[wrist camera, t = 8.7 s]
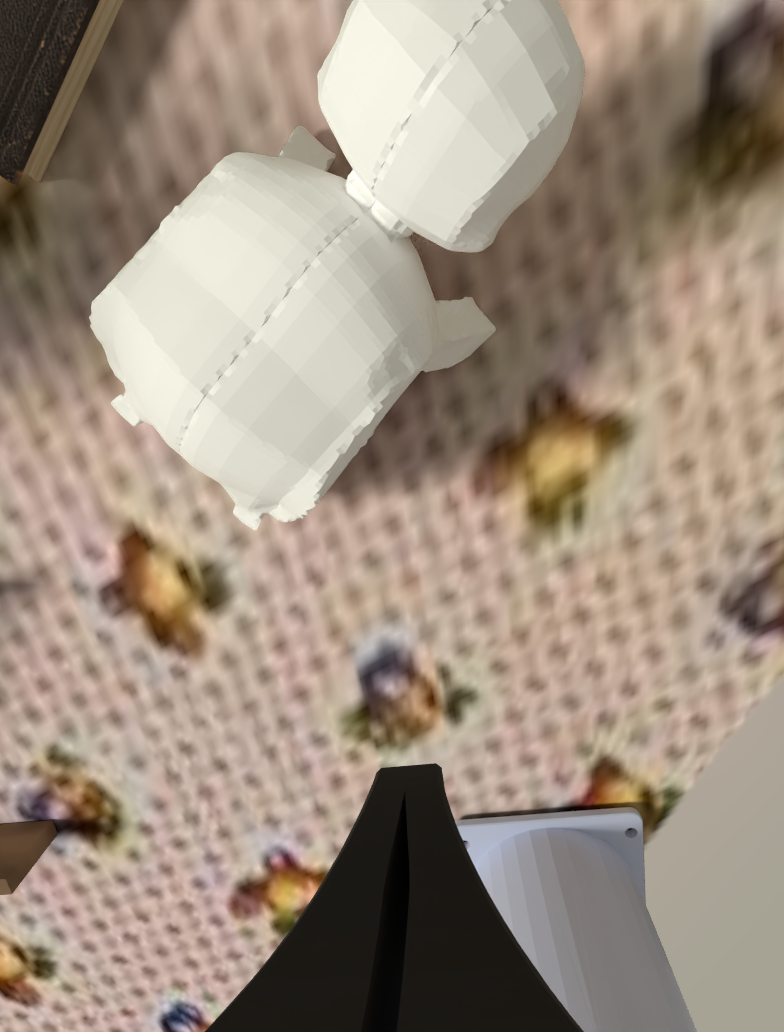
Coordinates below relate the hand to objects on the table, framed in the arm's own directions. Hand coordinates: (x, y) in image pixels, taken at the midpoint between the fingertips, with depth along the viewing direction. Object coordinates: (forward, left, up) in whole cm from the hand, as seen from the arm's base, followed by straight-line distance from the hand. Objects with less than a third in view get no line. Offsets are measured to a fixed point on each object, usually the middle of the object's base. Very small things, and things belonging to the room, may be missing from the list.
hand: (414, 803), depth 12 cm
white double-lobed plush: (+11, +1, -10) cm, 15 cm away
